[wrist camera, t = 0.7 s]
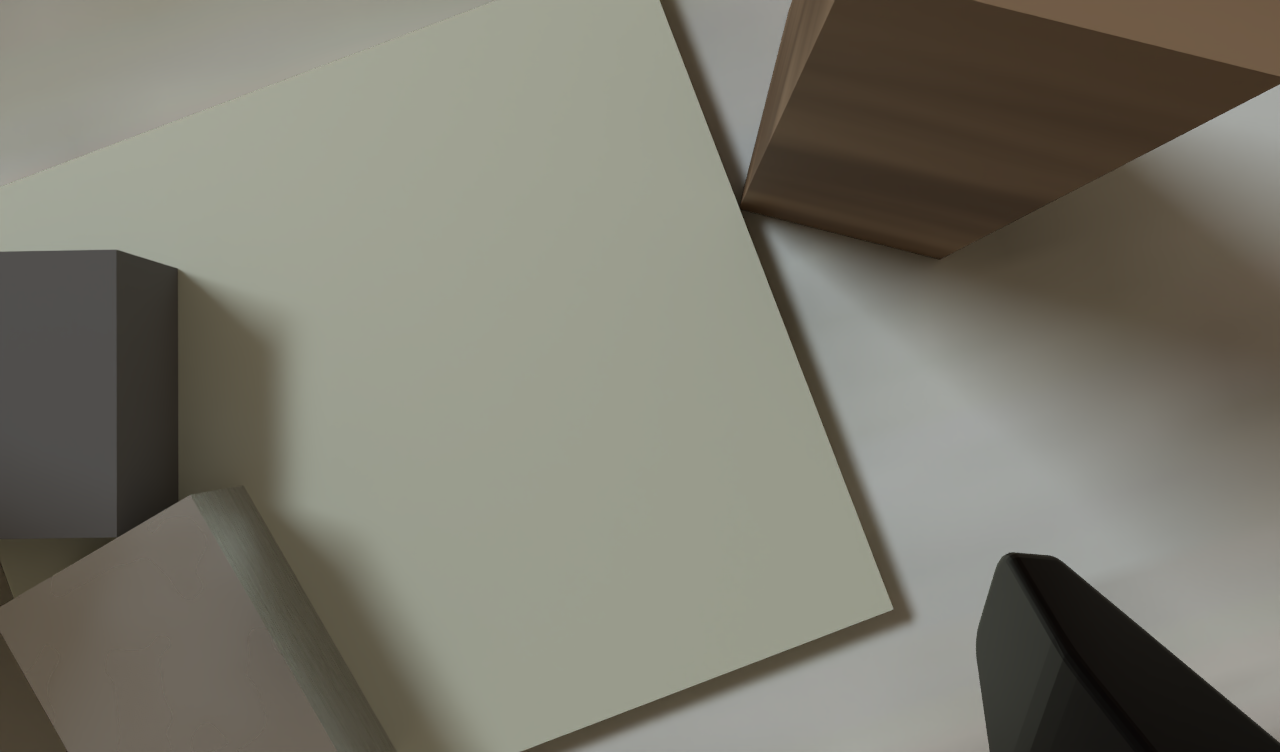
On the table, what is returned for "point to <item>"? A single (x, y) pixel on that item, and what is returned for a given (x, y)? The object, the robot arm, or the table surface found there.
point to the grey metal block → (188, 643)
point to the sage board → (485, 369)
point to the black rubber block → (86, 392)
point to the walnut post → (986, 106)
